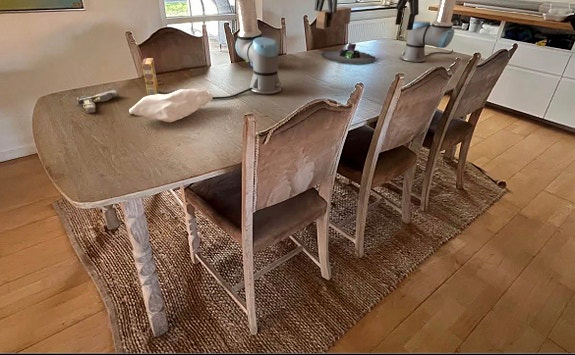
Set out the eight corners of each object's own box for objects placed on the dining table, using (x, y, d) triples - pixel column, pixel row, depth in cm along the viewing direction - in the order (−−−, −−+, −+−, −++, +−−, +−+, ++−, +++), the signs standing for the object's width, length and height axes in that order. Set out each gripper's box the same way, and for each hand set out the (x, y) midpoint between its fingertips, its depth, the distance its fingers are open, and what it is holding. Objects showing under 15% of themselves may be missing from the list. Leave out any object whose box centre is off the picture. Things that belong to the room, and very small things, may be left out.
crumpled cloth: (117, 110, 146) (113, 90, 140) (195, 92, 166) (194, 73, 160) (143, 139, 134) (140, 118, 128) (223, 116, 154) (224, 96, 148)
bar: (323, 29, 192) (325, 12, 188) (316, 27, 195) (317, 11, 190) (349, 23, 209) (351, 7, 205) (342, 22, 212) (343, 6, 207)
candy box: (157, 97, 164) (152, 63, 155) (147, 98, 163) (141, 63, 155) (158, 91, 171) (153, 57, 163) (149, 91, 170) (143, 58, 162)
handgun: (128, 97, 156) (111, 87, 164) (86, 107, 144) (70, 97, 152) (129, 103, 157) (113, 94, 165) (88, 114, 146) (72, 103, 154)
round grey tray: (386, 59, 233) (388, 44, 229) (346, 66, 216) (347, 50, 211) (349, 51, 258) (350, 37, 253) (310, 56, 240) (311, 42, 236)
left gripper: (347, -22, 181) (341, 27, 193) (318, -25, 190) (314, 23, 203) (339, -22, 176) (334, 29, 189) (309, -25, 185) (306, 24, 198)
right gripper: (433, -18, 163) (421, 32, 174) (408, -23, 183) (400, 22, 195) (417, -19, 162) (407, 32, 173) (394, -23, 182) (386, 22, 194)
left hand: (324, 26), depth 196 cm, fingers closed on bar, 5 cm apart
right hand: (403, 27), depth 184 cm, fingers open, 13 cm apart
